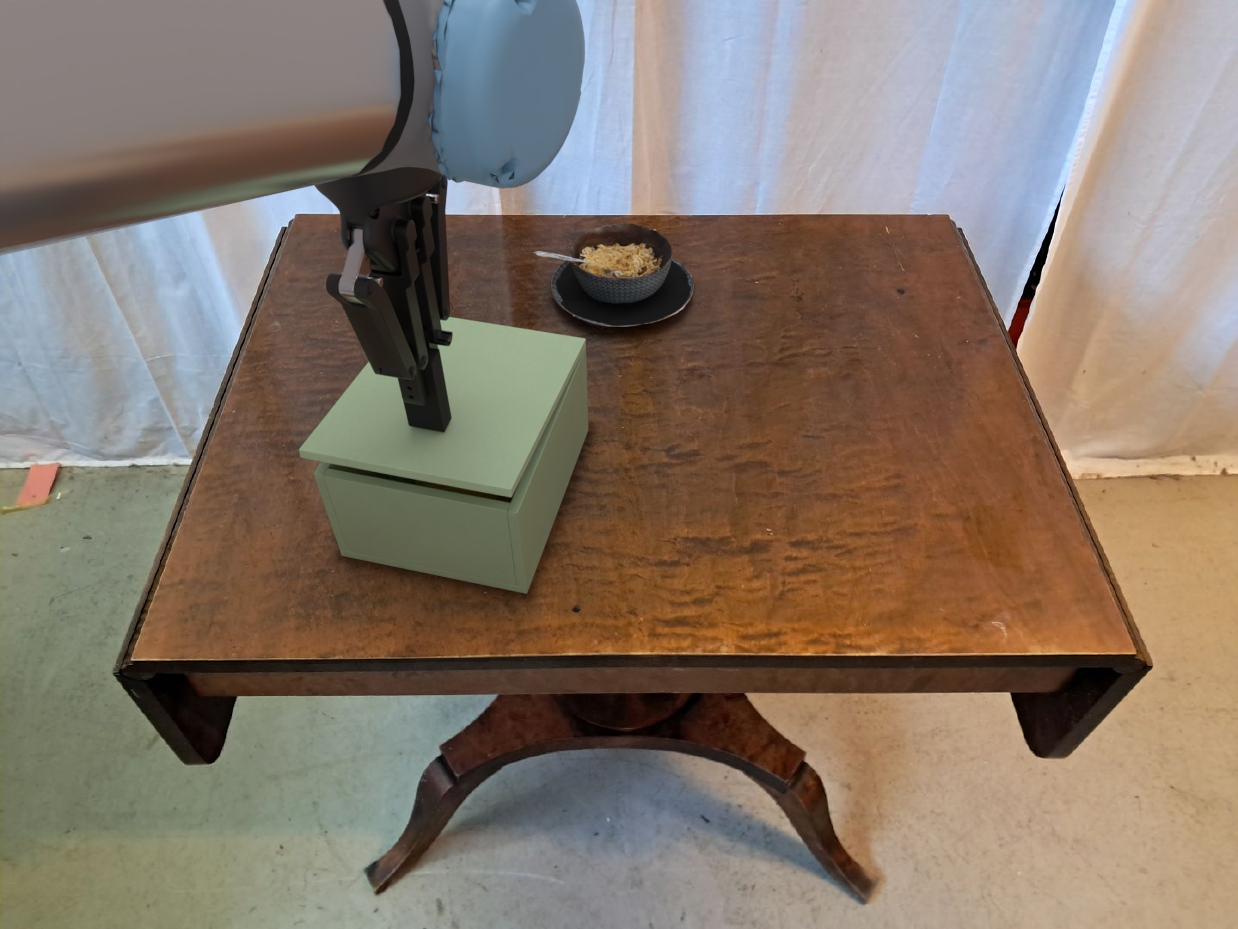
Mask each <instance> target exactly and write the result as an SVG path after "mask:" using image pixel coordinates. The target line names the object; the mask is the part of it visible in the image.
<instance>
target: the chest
mask: <svg viewBox="0 0 1238 929" xmlns="http://www.w3.org/2000/svg"><path fill="white" fill-rule="evenodd" d="M587 366H588V364H587V347H585V349H584V351H583V353H582V355H581V357H580V359H579V361H578V363H577V365H576V367H575V369H574V371H573V373H572V375H571V377H570V379H569V381H568V383H567V385H566V387H565V389H564V391H563V393H562V396H561V398H560V400H559V402H558V404H557V406H556V408H555V410H554V412H553V414H552V416H551V418H550V420H549V422H548V424H547V426H546V428H545V430H544V432H543V434H542V436H541V438H540V440H539V442H538V444H537V447H536V449H535V451H534V453H533V455H532V457H531V459H530V461H529V463H528V465H527V467H526V469H525V471H524V473H523V475H522V477H521V479H520V482H519V484H518V487H517V489H516V491H515V494H514V496H513V498H512V501H511V503H508V502H502V501H497V500H492V499H487V498H481V497H476V496H471V495H466V494H460V493H455V492H450V491H444V490H439V489H434V488H429V487H423V486H418V485H415V484H414V480H413V479H410V478H405V477H400V476H394V475H389V474H384V473H378V472H373V471H368V470H363V469H357V468H352V467H347V466H341V465H336V464H331V463H325V462H320V463H319V464H318V465H317V467H316V469H315V470H314V472H313V477H314V480H315V483H316V485H317V489H318V491H319V494H320V497H321V500H322V503H323V506H324V508H325V511H326V514H327V517H328V520H329V523H330V525H331V526H330V527H331V528H332V531H333V534H334V537H335V540H336V543H337V545H338V549H339V552H340V555H341V557H346V558H350V559H355V560H361V561H364V562H369V563H376V564H379V565H385V566H388V567H389V566H390V567H394V568H398V569H403V570H408V571H414V572H419V573H424V574H428V575H433V576H439V577H443V578H448V579H452V580H458V581H463V582H468V583H473V584H478V585H482V586H487V587H492V588H495V589H496V588H497V589H501V590H505V591H510V592H511V591H512V592H515V593H521V594H525V595H527V594H528V592H529V590H530V587H531V585H532V582H533V579H534V577H535V573H536V571H537V569H538V566H539V563H540V561H541V558H542V555H543V552H544V550H545V547H546V544H547V542H548V540H549V537H550V534H551V532H552V530H553V529H552V528H553V526H554V524H555V520H556V518H557V515H558V512H559V509H560V507H561V504H562V502H563V499H564V497H565V494H566V491H567V489H568V486H569V483H570V480H571V478H572V475H573V473H574V472H573V471H574V470H575V467H576V464H577V462H578V459H579V457H580V454H581V451H582V448H583V446H584V443H585V441H586V438H587V436H588V432H589V402H588V401H589V399H588V372H587V371H588V370H587V369H588V368H587Z"/></svg>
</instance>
